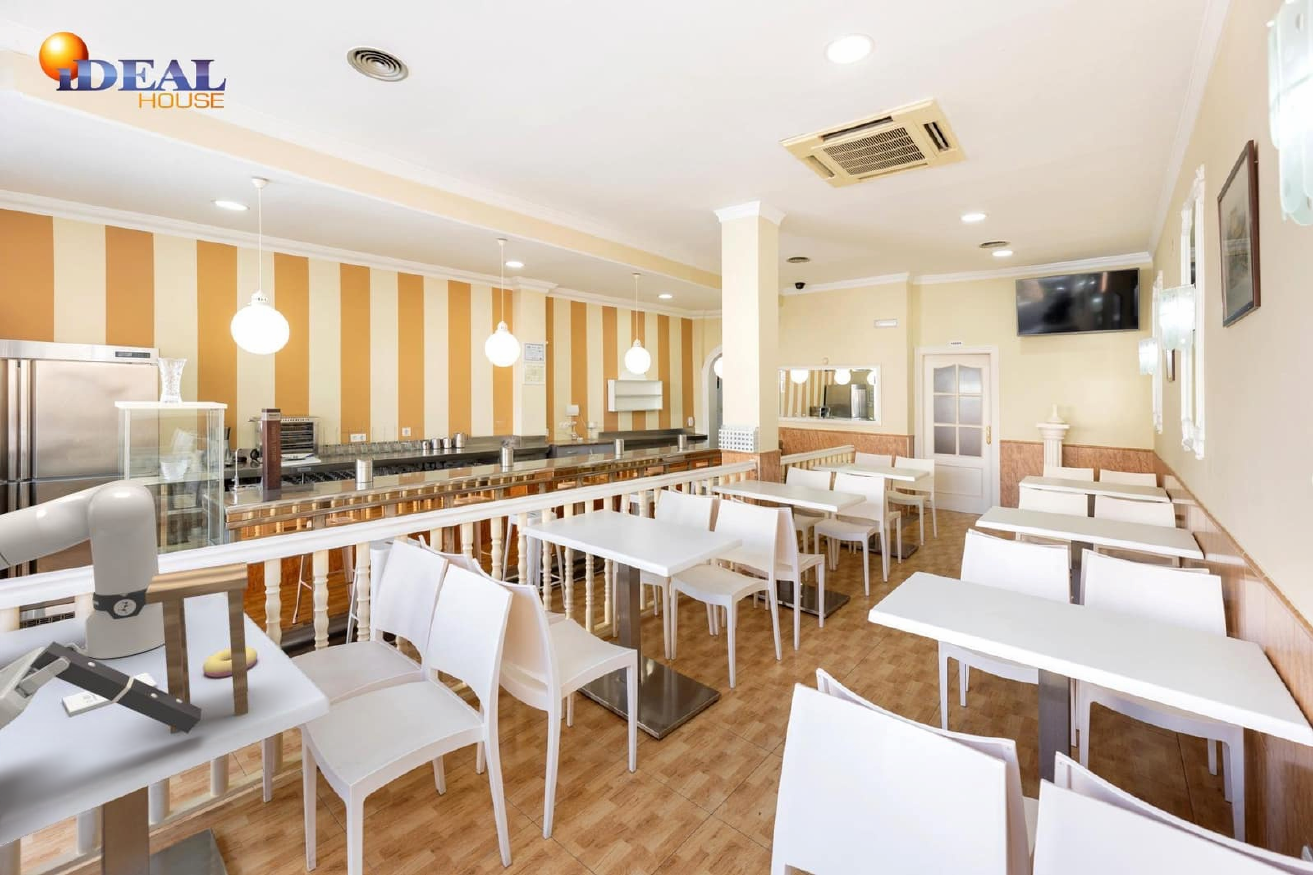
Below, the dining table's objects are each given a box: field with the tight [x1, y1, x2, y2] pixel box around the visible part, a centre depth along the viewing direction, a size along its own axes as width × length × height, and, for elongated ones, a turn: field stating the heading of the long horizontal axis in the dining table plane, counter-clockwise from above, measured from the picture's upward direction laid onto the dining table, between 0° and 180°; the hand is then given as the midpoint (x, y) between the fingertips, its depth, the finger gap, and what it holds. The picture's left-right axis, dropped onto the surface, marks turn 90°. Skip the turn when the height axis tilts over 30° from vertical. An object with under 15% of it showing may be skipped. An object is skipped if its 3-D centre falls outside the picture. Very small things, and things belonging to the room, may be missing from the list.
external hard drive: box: [61, 672, 158, 718], centre depth 111 cm, size 2×8×12 cm
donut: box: [202, 646, 258, 678], centre depth 122 cm, size 10×5×9 cm
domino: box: [30, 641, 202, 734], centre depth 90 cm, size 4×24×3 cm
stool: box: [145, 561, 249, 734], centre depth 105 cm, size 12×14×26 cm
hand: (71, 653), depth 86 cm, fingers closed on domino, 4 cm apart
